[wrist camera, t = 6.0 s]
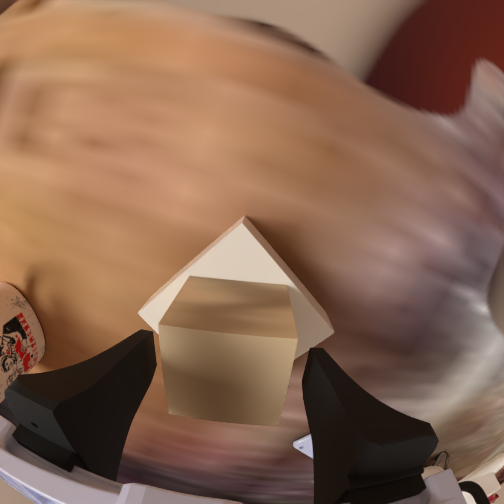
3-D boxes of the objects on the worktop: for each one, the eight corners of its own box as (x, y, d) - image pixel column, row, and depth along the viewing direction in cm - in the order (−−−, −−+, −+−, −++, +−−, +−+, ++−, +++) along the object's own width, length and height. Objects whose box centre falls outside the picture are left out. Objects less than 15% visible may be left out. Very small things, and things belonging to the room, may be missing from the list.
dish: (409, 517, 35) (418, 547, 24) (461, 472, 28) (478, 510, 17) (474, 488, 34) (485, 512, 23) (524, 436, 27) (541, 463, 17)
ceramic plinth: (324, 308, 18) (334, 332, 15) (233, 369, 19) (229, 397, 17) (245, 214, 16) (241, 223, 13) (154, 292, 18) (137, 313, 15)
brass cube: (286, 284, 14) (298, 338, 9) (274, 362, 16) (278, 426, 11) (189, 275, 14) (157, 324, 9) (190, 353, 16) (168, 413, 11)
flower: (477, 496, 34) (477, 513, 30) (501, 484, 31) (501, 501, 26) (472, 489, 41) (472, 505, 36) (494, 478, 38) (494, 494, 33)
